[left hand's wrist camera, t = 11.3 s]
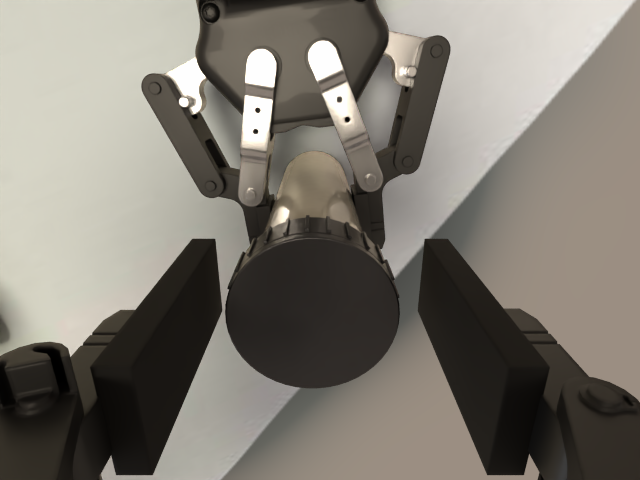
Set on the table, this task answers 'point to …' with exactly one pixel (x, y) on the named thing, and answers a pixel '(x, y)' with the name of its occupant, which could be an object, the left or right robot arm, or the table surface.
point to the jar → (314, 191)
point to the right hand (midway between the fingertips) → (321, 259)
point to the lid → (312, 303)
